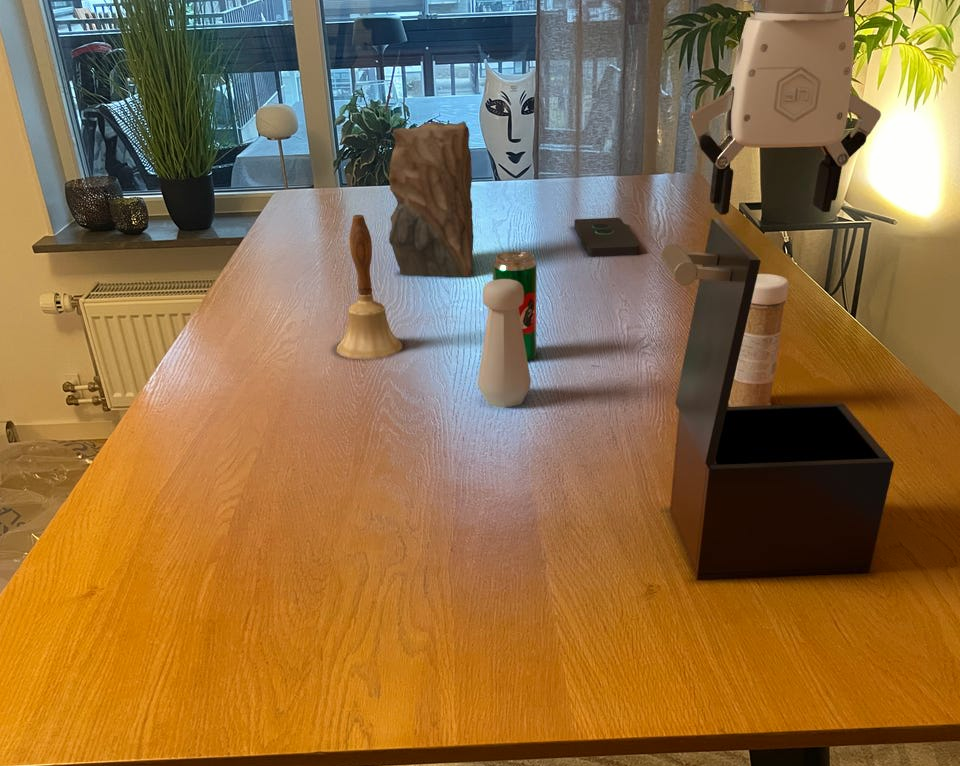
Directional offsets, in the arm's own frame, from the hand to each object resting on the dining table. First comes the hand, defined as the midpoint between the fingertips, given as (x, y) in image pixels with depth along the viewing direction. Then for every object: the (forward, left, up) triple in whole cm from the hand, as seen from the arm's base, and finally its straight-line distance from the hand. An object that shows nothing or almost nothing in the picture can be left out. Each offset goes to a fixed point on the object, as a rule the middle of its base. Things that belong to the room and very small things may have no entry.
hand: (771, 210), depth 96 cm
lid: (+11, +29, -3) cm, 31 cm away
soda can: (+24, -18, -20) cm, 36 cm away
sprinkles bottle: (0, 0, -20) cm, 20 cm away
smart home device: (+6, -72, -20) cm, 75 cm away
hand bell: (+42, -23, -20) cm, 52 cm away
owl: (+33, -58, -20) cm, 70 cm away
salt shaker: (+26, -4, -20) cm, 33 cm away
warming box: (+6, +29, -20) cm, 36 cm away
